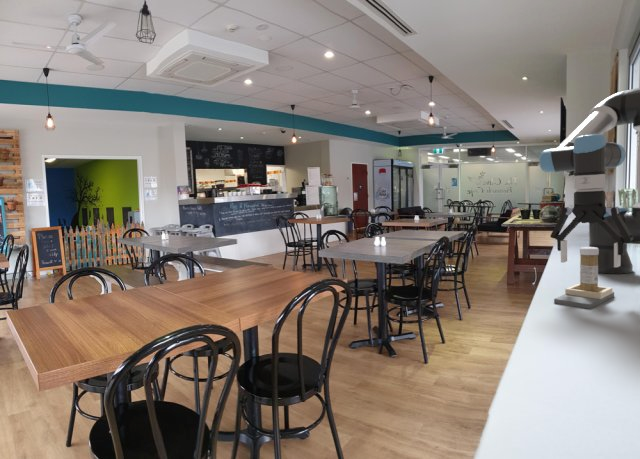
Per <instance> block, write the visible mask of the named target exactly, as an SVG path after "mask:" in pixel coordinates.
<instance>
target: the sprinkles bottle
mask: <svg viewBox="0 0 640 459" xmlns="http://www.w3.org/2000/svg"><path fill="white" fill-rule="evenodd" d="M598 254H599V249H598V248H596V247H589V246H582V247H580V248H579V256H580V266H579V267H580V268H579V269H580V271H579V282H580V283H579V284H580V290H583V291H591V292H598V286H599V273H598Z"/></svg>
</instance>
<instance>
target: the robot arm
mask: <svg viewBox="0 0 640 459" xmlns="http://www.w3.org/2000/svg"><path fill="white" fill-rule="evenodd" d="M630 124H632V129H634V130H635V131H636V132H637V134H638V139H637V141H638V143H637V146H638V147H637V202H635V204H634V205H632V208H631V210H629V209H628V207H626V206H625V207H618V206H614V207H608V208H607V206H606V191H605V190H604V189H606V170H607V169H608V170H609V169H614V168H617V167H619V166H621V165H622V164H623V163H624V162H625V160H626V157H627V156H626V155H627V153H626V149H625V148H624V146H622V145H621V144H619V143H616V142H613V141H612V142H607V141H606V136H605V135H604V133H605V132H609V131H610V130H612V129H613V128H614V127H618V126H621V125H622V126H623V125H630ZM539 167H540V169H541V171H543V172H545V173H560V172H572V171H573V190H575V192H574V193H573V207H568V206H567V207H562V208H561V214H560V217H559V219H558V220H557V222H556V224H555V226H554V228H553V229H552V232H551V233H550V235H549V237H550V238H552V239H555V240H556V242H557V248H556V249H557V251H559V252H560V263H566V262H568V239H566V237H567V236H569V234H570V233H571V232H572V231H573V230H574V229H575V228H576V227H577V226H578V225H579V224H580V223H581V224H587V223H588V229H589V230H588V231H589V232H588V235H589V236H588V237H589V240H588V242H589V243H588V245H589V246H588V247H596V248H598V249H599V254H598V274H599V273H600V274H615V275H616V274H619V275H620V274H628V273H629V272H630V273H633V267H634V266H633V263H632V260H631V257H630V255H629V253H628V245H629V244H630V245H640V87H635V88H631V89H625V90H622V91H619V92H616V93H613V94H612V95H609V96H608V97H606V98H605V99H603V100H602V101H600V102H599V103H596V105H594V106H593V107H592V108H591V109H590V110H589V112H588V113H587V114H586V118H585V119H584V120H583V121H582V122H581V123H580V124H579V125H578V126H577V127H576V128H575V129H574V130H573V131H572V132H571V133H569V135H567V137H565V139H563V141H561V143H559V145H557V146H556V147H555V148H549V149H544V150H543V151H542V152H541V153H540V155H539ZM571 214H573V215H574V216H575V217H574V218H573V219H572V220H571V222H569V224H568V225H567V226H566V227H565V228H564V229H563V227H564V225H565V223H566V222H567V220H568V218H569V216H570V215H571ZM562 229H563V230H562ZM560 232H561V233H560Z"/></svg>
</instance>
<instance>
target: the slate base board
mask: <svg viewBox="0 0 640 459" xmlns="http://www.w3.org/2000/svg"><path fill="white" fill-rule="evenodd" d="M564 291H565V293H564V294H562V295H560V296H557V297H555V298H553V303H554V304H556V305H557V304H558V305H564V306H569V307H576V308H581V309H587V310H591V309H593V308H595V307H597V306H599V305H601V304H602V303H604V302H606V301H608V300H610V299H612V298H614V296H615V292H614V291H613V287H608V286H607V287H606V286H600V285H598V292H591V291H583V290H580V283H576V284H574V285H572V286H569V287H567V288H565V290H564Z"/></svg>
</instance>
